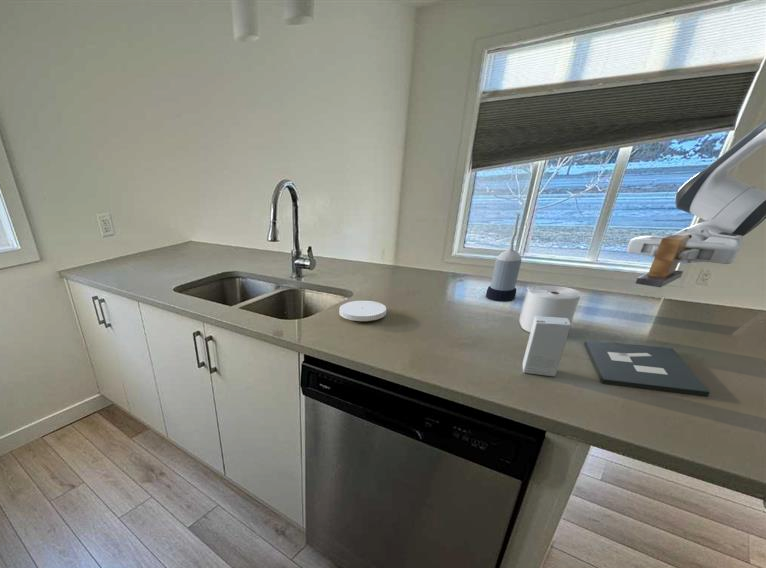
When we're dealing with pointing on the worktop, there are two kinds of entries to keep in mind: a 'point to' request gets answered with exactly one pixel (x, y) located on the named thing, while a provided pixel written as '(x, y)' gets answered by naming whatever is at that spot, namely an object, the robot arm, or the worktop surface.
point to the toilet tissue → (548, 304)
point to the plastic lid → (362, 310)
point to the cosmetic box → (546, 345)
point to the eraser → (665, 262)
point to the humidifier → (505, 272)
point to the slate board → (643, 367)
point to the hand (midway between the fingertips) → (667, 254)
